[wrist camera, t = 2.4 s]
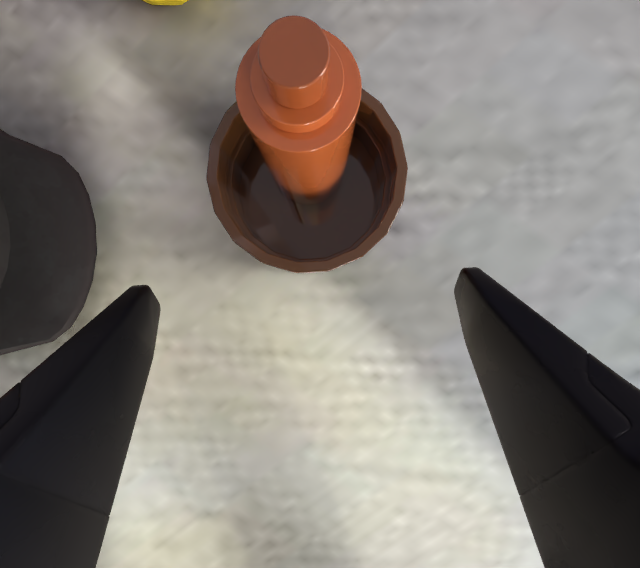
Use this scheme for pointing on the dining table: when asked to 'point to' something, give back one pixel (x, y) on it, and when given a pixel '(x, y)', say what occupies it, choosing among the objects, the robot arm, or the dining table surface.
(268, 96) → the bottle
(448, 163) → the dining table surface
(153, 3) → the lemon
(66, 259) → the casserole
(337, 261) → the bowl
